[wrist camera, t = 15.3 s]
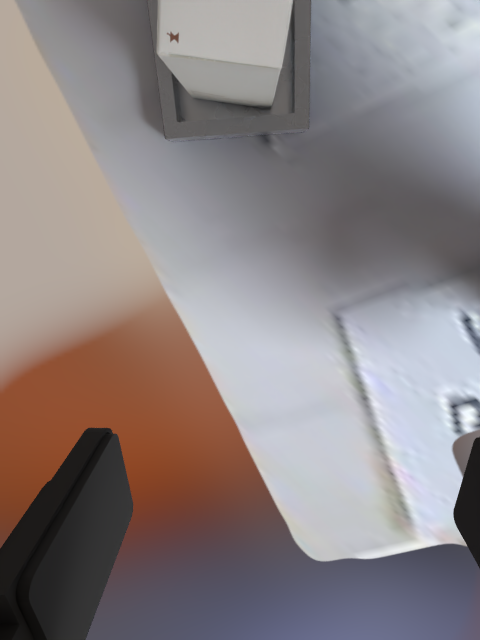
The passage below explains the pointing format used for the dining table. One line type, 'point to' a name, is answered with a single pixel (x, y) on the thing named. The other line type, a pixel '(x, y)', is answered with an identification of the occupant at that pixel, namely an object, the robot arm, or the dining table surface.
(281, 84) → the locating frame
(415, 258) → the dining table surface
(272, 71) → the supplement box
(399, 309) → the dining table surface
